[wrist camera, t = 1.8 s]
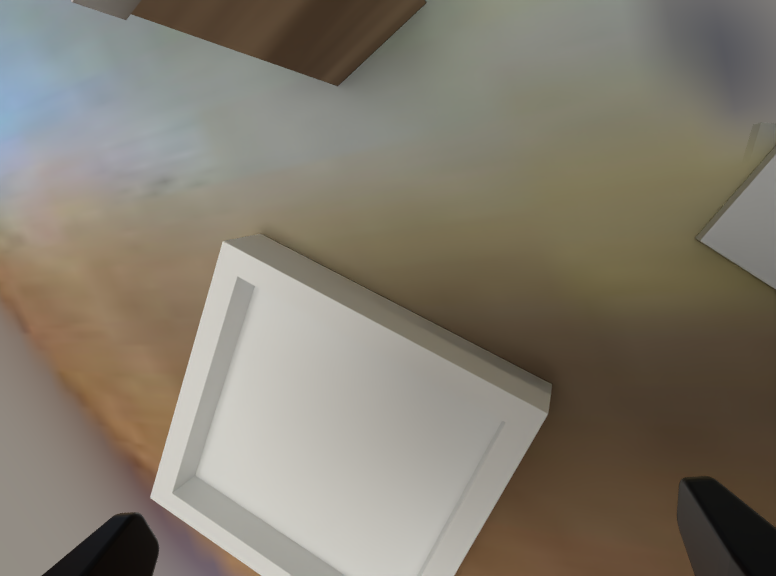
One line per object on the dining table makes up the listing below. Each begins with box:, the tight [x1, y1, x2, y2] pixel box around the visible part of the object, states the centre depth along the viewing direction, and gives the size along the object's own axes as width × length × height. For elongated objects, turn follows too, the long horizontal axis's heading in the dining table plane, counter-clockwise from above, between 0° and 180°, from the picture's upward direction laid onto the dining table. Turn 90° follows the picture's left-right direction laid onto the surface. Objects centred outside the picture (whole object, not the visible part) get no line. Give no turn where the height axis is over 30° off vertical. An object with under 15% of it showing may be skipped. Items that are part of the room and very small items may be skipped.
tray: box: [150, 234, 552, 576], centre depth 21 cm, size 13×13×2 cm
